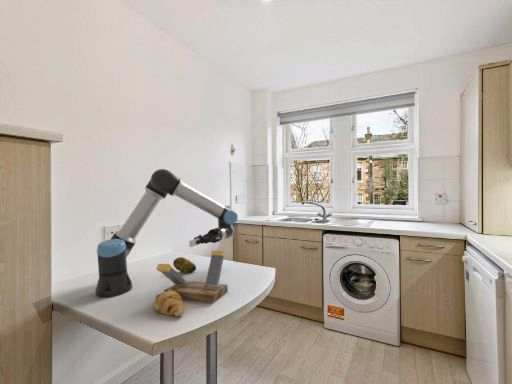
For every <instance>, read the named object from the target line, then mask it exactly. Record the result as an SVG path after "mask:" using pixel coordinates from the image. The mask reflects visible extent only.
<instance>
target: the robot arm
mask: <svg viewBox="0 0 512 384" xmlns="http://www.w3.org/2000/svg"><path fill="white" fill-rule="evenodd" d="M147 182H148V183H147V184H146V185H145V187H144V189H145V192H144V194H143V196H142V197H141V199H140V200H139V201H138V203H137V204H136V206H135V207H134V209H133V210H132V212H131V213H130V215H129V216H128V218H127V219H126V221H125V222H124V224H123V226H122V227H121V228H120V229H119V230H118V231H115V232H114V233H113V234H112V237H111V238H110V239H107V240H104V241H101V242H100V243H98V244H97V248H96V249H97V250H96V253H97V266H98V280H97V283H96V286H95V296H96V297H97V296H99V297H98V298H110V297H111V298H112V297H115V296H119V295H123V294H125V293H127V292H129V291H131V290H132V289H133V282H132V280H131V277H130V276H129V273H128V265H127V257H128V256H129V255H130V253H131V251H132V250H133V248H134V247H135V245H136V243H137V241H136V238H137V236H138V235H139V233H141V231H142V229H143V227H144V226H145V224H146V223H147V221H148V220H149V218H150V216H151V215H152V213H154V212H153V211H155V209H156V207H157V206H158V204H159V203H160V201H161V200H165V199H166V197H167V196H168V195H169V196H171V197H173V196H174V197H178V198H179V199H181V200H183V201H185V202H187V203H188V204H190V205H191V206H194V207H196V208H198V209H199V210H200V211H201V210H202V211H203V212H205V213H207V214H209V215H210V216H212V217H214V218H216V219H217V223H218V224H217V225H218V227H215V228H212V229H209V230H208V232H207V233H205V234H203V235H202V234H198V235H197V236H194V238H193V239H191V240H189V241H188V242H189V244H188V245H189V248H190V247H191V248H193V247H195V246H198V245H201V244H205V245H206V244H209V243H211V244H216V243H219V242H221V241H223V240H227V239H229V238H231V237H232V236H233V235H234V234H235V228H234V226H233V224H236V223H237V221H238V218H239V217H238V214H237V212H236V211H235V210H233V209H231V206H230V205H229V204H227V205H226V204H225V205H223V204H221V203H220V202H218V201H216V200H214V199H213V198H211V197H210V196H207V195H205V194H204V193H202V192H201V191H199V190H197V189H195V188H193V187H192V186H190V185H188V184H187V183H184V182H183V179H182V178H180V177H178V176H177V175H175V174H174V173H172V172H171V171H170V170H168V169H165V168H160V169H157V170H155V171H154V172H153V173H152V174H151V176H150V179H149V181H147Z"/></svg>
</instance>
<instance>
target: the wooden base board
mask: <svg viewBox="0 0 512 384" xmlns="http://www.w3.org/2000/svg"><path fill="white" fill-rule="evenodd" d="M187 281H188V284H187V285H181V284H173V285H171V286H169V287H167V288H165V289H164V291H163V293H164V292H165V291H168V290H171V291H175V292H177V293H179V295H180V297H181V298H182V301H183V300H184V301H191V302H192V301H193V302H201V303H206V304H207V303H209V304H214V303H215V302H217V301H218V300H219V299H220V298H222V297H223V296H224V295H225V294H227V293H228V284H223V283H219V288H211V287H204V284H205V283H206V282H202V281H192V280H187Z"/></svg>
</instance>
